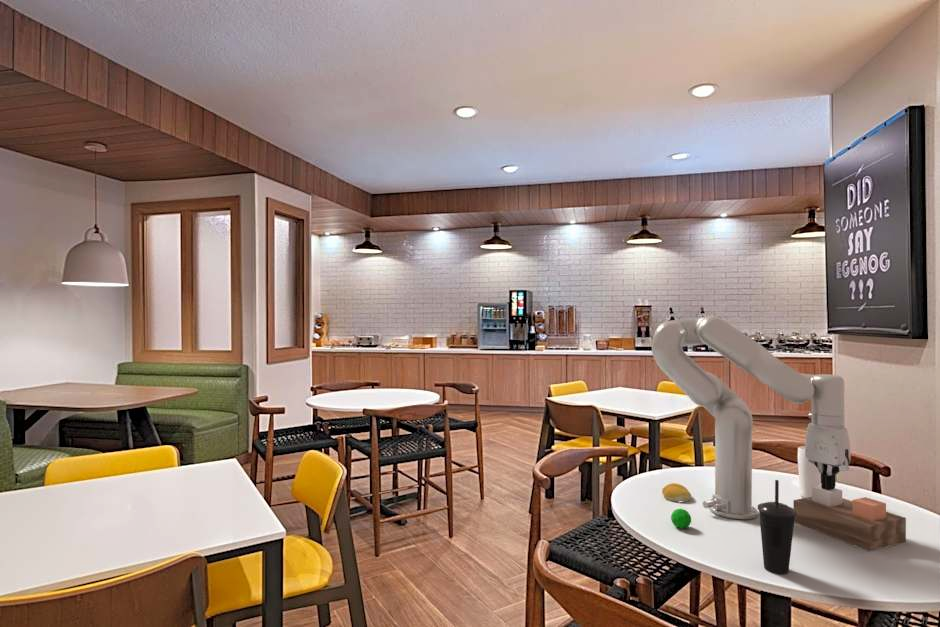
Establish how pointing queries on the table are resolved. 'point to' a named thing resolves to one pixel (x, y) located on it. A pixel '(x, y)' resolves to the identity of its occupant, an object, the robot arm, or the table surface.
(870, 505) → the terracotta plug
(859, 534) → the walnut block
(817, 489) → the white plug
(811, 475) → the drinking glass
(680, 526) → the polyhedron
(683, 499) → the bread roll
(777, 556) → the drinking cup
